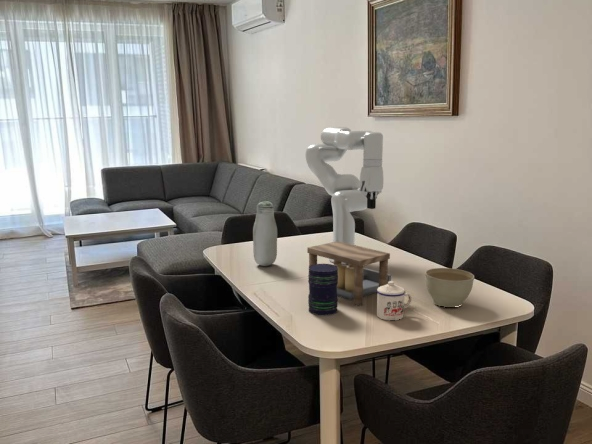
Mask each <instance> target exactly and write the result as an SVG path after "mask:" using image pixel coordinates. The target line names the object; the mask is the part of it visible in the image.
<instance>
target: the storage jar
mask: <svg viewBox="0 0 592 444" xmlns="http://www.w3.org/2000/svg"><path fill="white" fill-rule="evenodd" d="M307 277H308V278H307V279H308V290H309V291H308V293H309V294H308V297H307V298H308V300H307V302H308V304H307V305H308V312H309V314H312V315H316V316H325V317H326V316H333V315H335V314H336V313H338V303H339V300H338V298H339V296H338V295H337V284H338V267H337V266H335V265H334V264H331V263H317V264H314V265H311V266H309V265H308V276H307Z"/></svg>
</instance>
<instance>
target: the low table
mask: <svg viewBox="0 0 592 444" xmlns="http://www.w3.org/2000/svg"><path fill="white" fill-rule="evenodd" d="M306 250H307V251H306V252H307V253H308V267H309V266H311V265H314V264H318V257H322V258H326V259H332V260H334V263H333V265H334V264H342V262H343V263H347V264H346V265H349V264H351V265H354V300H353V305H354V306H356V305H357V306H358V307H359V305H361V306H362V305H363V303H364V301H363V300H364V299H363V298H364V296H363V268H364V266H367V265H372V264H375V263H379V264H378V272H379V287H380V286H384V285H386V284H387V277H388V274H389V273H388V271H389V270H388V269H389V268H388V267H389V259H390V258H391V253H390V252H386V251H381V250H377V249H372V248H368V247H365V246H364V247H363V246H359V245H355V244H354V245H352V244H348V243H344V242H339V241H336V242H333V241H332V242H327V243H323V244H318V245H313V246H308V247H307V249H306Z"/></svg>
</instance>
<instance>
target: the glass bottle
mask: <svg viewBox="0 0 592 444" xmlns="http://www.w3.org/2000/svg"><path fill="white" fill-rule="evenodd" d="M274 211H275V207H274V204H273V203H272V202H271V201H266V200H265V201H261V202H259V203H257V205H256V214H255V219H254V220H255V221H254V222H253V226H252V243H253V244H252V245H253V259H254V262H255V263H256V264H257V265H259V266H262V267H267V266H268V267H269V266H272V265H273V264H274V263H275V262H276V260H277V255H278V227H277V223H276V219H275V212H274Z"/></svg>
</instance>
